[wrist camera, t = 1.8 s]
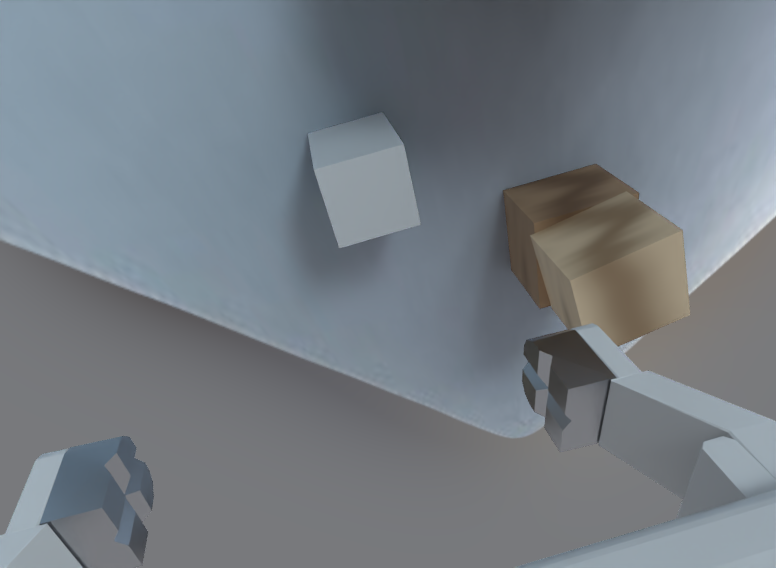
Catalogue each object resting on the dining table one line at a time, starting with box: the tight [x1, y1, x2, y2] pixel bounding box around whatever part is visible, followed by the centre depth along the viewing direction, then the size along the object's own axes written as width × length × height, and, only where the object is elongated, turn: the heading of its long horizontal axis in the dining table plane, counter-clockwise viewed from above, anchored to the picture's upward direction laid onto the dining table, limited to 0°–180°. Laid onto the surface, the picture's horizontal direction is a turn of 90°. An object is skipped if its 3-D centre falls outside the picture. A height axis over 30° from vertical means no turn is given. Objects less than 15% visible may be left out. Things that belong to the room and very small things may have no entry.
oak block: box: [530, 191, 690, 346], centre depth 30 cm, size 6×6×5 cm
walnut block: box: [503, 164, 639, 309], centre depth 34 cm, size 6×6×5 cm
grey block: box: [308, 112, 421, 248], centre depth 29 cm, size 4×4×6 cm
